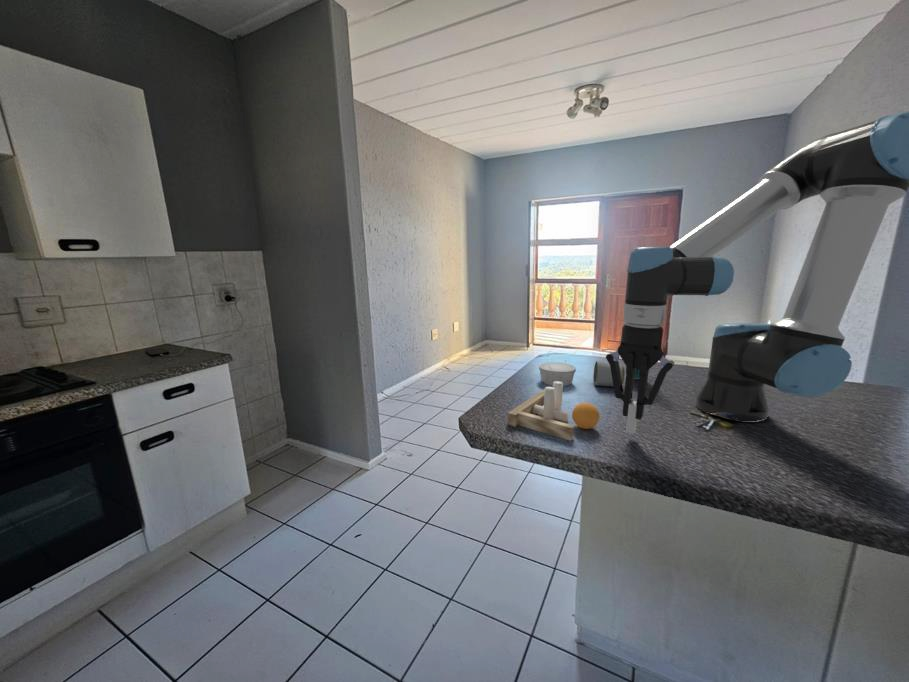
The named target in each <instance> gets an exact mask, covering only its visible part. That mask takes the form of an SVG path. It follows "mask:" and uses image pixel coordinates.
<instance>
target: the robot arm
mask: <svg viewBox="0 0 909 682" xmlns="http://www.w3.org/2000/svg"><path fill="white" fill-rule="evenodd" d="M908 190H909V110H907V111H904V112H900V113H896V114H891V115H885V116H882V117H880V118H878V119H876V120H873V121H870V122H867V123H864V124H860V125H857V126H854V127H851V128H848V129H845V130H842V131H841V130H840V131H838V132H834V133H831V134H827V135H825V136H822V137H820V138H818V139H815V140H813V141H812V142H810V143H808V144H806V145H805V146H803V147H802V148H799V149H798V150H797V151H795V152H794V153H792V154H790V155H789V156H788V157H786V158H785V159H784V160H782V161H781V162H779V163H778V164H776V165H775V166H774V167H772V168H771V169H769V170H768V171H766V172H764V174H762V175H761V176H760V177H759V179H757V183H756V185H754V186H753V187H752V188H750V189H749V190H747V191H746V192H744V193H743V194H742V195H741V196H739V197H738V198H736V199H735V200H734V201H732V202H731V203H729V204H727V206H725V207H723V208H722V209H721V210H719V211H718V212H717V213H715V214H714V215H712V216H711V217H709V218H708V219H707V220H705V221H703V223H701V224H699V225H698V226H697V227H695V228H694V229H693V230H691V231H690V232H688V233H687V234H685V235H684V236H683V237H682V238H681V239H679V240H677V241H675V242H674V243H673V244H671V245H670V246H645V247H644V246H641V247H635V248H633V249H632V250H631V252H630V255H629V259H628V265H627V269H626V270H627V271H626V272H627V277H626V287H625V288H626V289H625V298H624V299H625V300H624V306H623V307H624V309H623V314H622V315H623V318H622V321H623V322H624V324H623V325H622V326H621V336H620V345H619V346H618V347H617V350H615V351H612V352H609V353H608V354H606V355H605V360H606V362H609V364H610V368H611V374H612V380H613V386H614V387H613V392H614V397H615V398H616V399H619V400H621V401H622V403H623V404H622V405H623V406H622V416H623V417H627V419H626V426H625V428H626V429H625V433H627V434H631V435H634V433H635V432H636V431H637V424H638V420H640V421H641V419H642V418H643V417H644V412H645V411H644V409H645V406H646V405H647V406H651V405H653V404H654V402H655V401H656V398H657V396H658V393H659V391H660V389H661V387H662V385H663V382H664V380H665V378H666V375H667V374H668V372H669V371H670V370H672V368H674V365H675V361H673V360H669V359H668V358H666V357H665V356H664V352H663V349H662V343H663V334H664V328H663V327H662V326H663V325H665V319H666V318H665V317H666V311H667V304H668V303H667V302H668V296H704V297H708V296H715V295H716V296H719V295H722V294H724V293H725V292H727V291H728V290H729V289H730V287H731V286H732V284H733V281H734V275H735V270H734V269H735V268H734V266H733V264H732V262H731V261H730V260H728V259H727V258H724V257H717V256H715V255H716V254H718V253H719V252H721V251H722V250H724V249H725V248H727V247H728V246H729V245H731V244H733V243H734V242H735V241H737V240H738V239H739V238H741V237H742V236H744V235H745V234H747V233H748V232H750V231H751V230H752V229H755V228H756V227H757V226H758V225H761V223H763V222H764V221H765V220H767V219H769V218H771V216H773V215H774V214H776V213H777V212H779V211H780V210H787V209H790V208H792V207H794V206H796V205H797V204H798V203H800V202H801V201H804V200H806V199H809V198H811V197H816V196H818V195H819V197H820V198H821V199H822V200H823V201H824V202H825V205H824V208H823V212H822V215H821V217H820V218H819V223H818V225H817V226H816V227H817V228H816V229H815V232H814V235H813V238H812V240H811V243H810V246H809V249H808V251H807V254H806V257H805V259H804V262H803V265H802V267H801V269H800V271H799V274H798V276H797V280H796V283H795V285H794V287H793V289H792V293H791V296H790V298H789V301H788V302H787V303H788V304H787V306H786V308H785V311H784V315H783V317H782V318H780V319H778V320H776V321H774V322H772V323H756V322H754V323H753V322H751V323H748V322H747V323H745V322H744V323H742V322H740V323H739V322H735V323H734V322H732V323H721V324H718V325H717V326H716V327H715V330H714V333H713V337H712V339H711V340H712V343H711V349H710V350H711V351H710V356H709V365H708V371H707V378H706V380H705V381H704V383H703V385H702V386H701V388H700V390H699V391H698V393H697V395H696V398H695V403H694V404H695V407H696V408H697V409H698V410H700V411H701V410H702V411H701V412H703V411H704V412H703V413H705V412H708V413H716V412H727V413H732V414H735V415H737V420H739V421H757V420H762V419H765V418H767V417H769V413H770V407H769V403H768V398H767V395H766V390H765V385H767V386H769V387H772V388H774V389H777V390H779V391H781V392H783V393H785V394H791V395H795V396H797V397H801V398H804V399H805V398H806V399H812V398H819V397H823V396H825V395H827V394H828V393H831V392H833V391H835V390H836V389H838V388H839V387H840V386H841V385H842V384H843V383H845V381H846V379H847V378H848V376H849V375H850V372H851V369H852V366H853V361H852V360H850V359H851V358H852V357H851V354H850V353H849V351H847V350H846V349H844V348H843V344H844V341H845V339H846V337H845V336H844V334H843V333H842V332H841V331H840V329H839V326H840V324H841V321H842V319H843V317H844V314H845V312H846V309H847V307H848V305H849V303H850V299H851V297H852V295H853V292H854V290H855V287H856V285H857V282H858V281H859V278H860V275H861V273H862V270H863V269H864V265H865V264H866V261H867V259H868V256H869V254H870V251H871V249H872V247H873V244H874V242H875V240H876V237H877V234H878V232H879V229H880V228H881V225H882V222H883V219H884V218H885V215H886V212H887V211H888V210H887V209H888V208H889V205H891V204H892V203H895V202H896V201H898V200H900V199H902V198H904V197H905V196H906V195H907V191H908ZM714 256H715V257H714ZM620 358H621V359H622V362H623V364H625V372H626V373H625V380H624V381H625V383H624V387H623V384H622V379H621V373H620V367H619V364H620V363H619V361H620ZM658 362H659V365H658V367H659V368H660V370H659V372H658V373H657V376H656V378H655V380H654V383H653V385H652V388H651V390H650V391H649V395H648V396H647V389H648V379H649V371H650V369H651V368H652V367H653V366H655V364H657V363H658ZM626 366H627V367H626ZM636 368H637V369H640V372H639V374H640V377H639V379H638V388H637V397H636V400H632V399H633V398H634V397H633V395H634V393H633V392H634V385H635V378H634V377H635V370H636ZM708 413H707V414H708Z"/></svg>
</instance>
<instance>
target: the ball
mask: <svg viewBox="0 0 909 682" xmlns="http://www.w3.org/2000/svg"><path fill="white" fill-rule="evenodd" d="M571 413H572V414H571V415H572V416H571V417H572V420H573V422H574V424H575V425H576V426H578V427H579V428H581V429H584V430H589V429H593V428H595V427H596V426H597V425H598V423H599V422H600V412H599V410H598V408H597V407H596V406H595V405H594V404H591V403H589V402H581V403H579V404H577V405H575V407H573V410H572V412H571Z"/></svg>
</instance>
